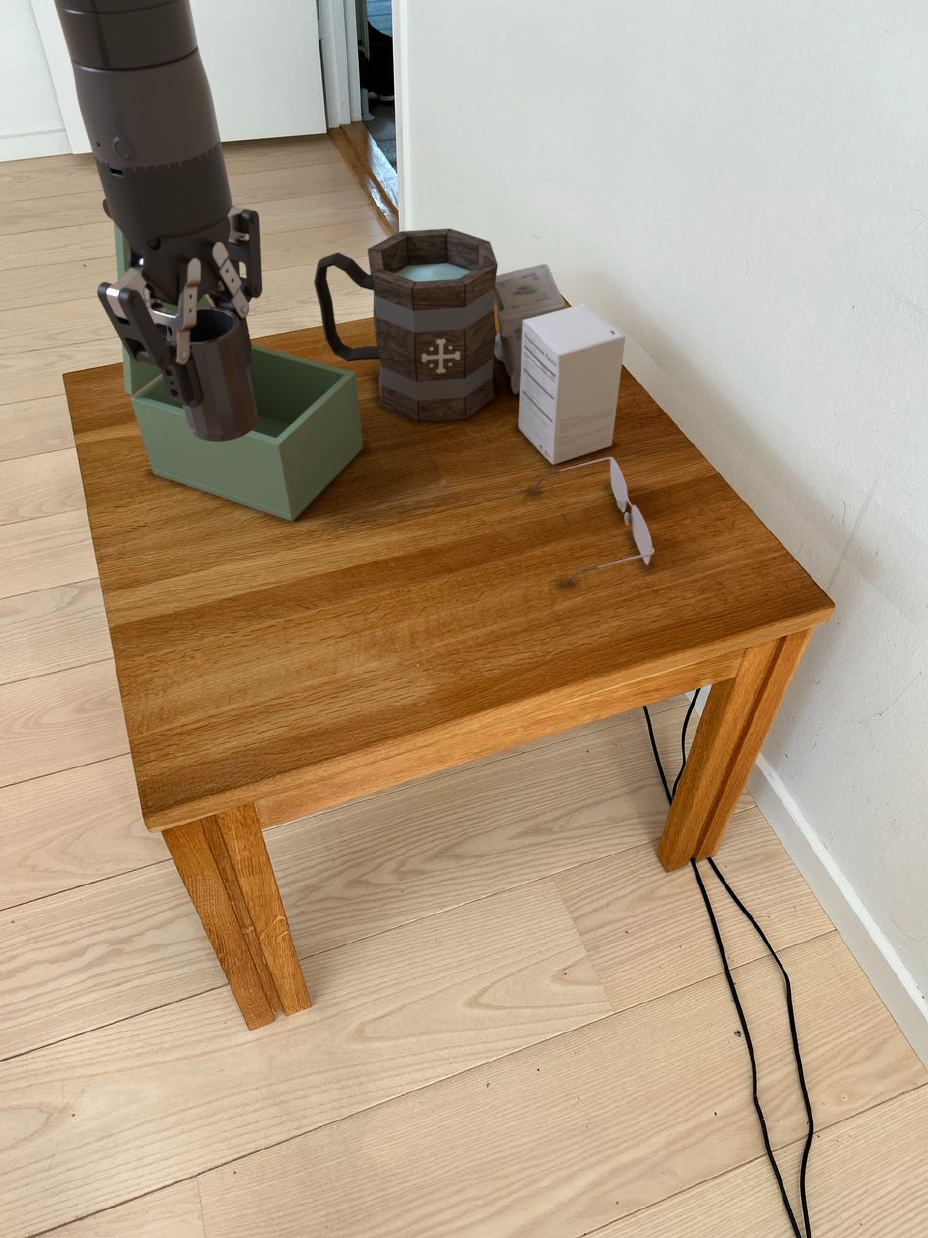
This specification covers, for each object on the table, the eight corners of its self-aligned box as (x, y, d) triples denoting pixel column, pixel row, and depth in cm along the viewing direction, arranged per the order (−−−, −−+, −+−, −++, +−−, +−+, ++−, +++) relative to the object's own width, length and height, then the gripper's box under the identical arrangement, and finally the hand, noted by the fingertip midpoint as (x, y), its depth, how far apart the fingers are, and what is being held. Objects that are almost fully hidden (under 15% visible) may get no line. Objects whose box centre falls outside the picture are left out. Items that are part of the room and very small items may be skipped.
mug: (509, 364, 106) (513, 235, 95) (479, 431, 97) (481, 297, 86) (347, 342, 110) (334, 215, 99) (305, 404, 101) (285, 272, 90)
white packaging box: (576, 410, 100) (586, 300, 91) (613, 447, 95) (628, 335, 86) (515, 428, 98) (520, 317, 88) (550, 467, 93) (559, 354, 84)
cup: (196, 449, 68) (170, 351, 62) (182, 411, 71) (156, 315, 65) (266, 432, 69) (246, 334, 63) (249, 396, 72) (229, 300, 67)
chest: (363, 447, 95) (356, 372, 89) (292, 522, 87) (278, 445, 81) (231, 407, 100) (215, 333, 94) (153, 474, 92) (129, 398, 86)
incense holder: (483, 352, 108) (483, 266, 101) (552, 346, 109) (558, 261, 101) (497, 399, 101) (499, 310, 94) (572, 392, 102) (579, 304, 95)
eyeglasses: (653, 577, 82) (656, 544, 79) (564, 593, 81) (564, 560, 78) (609, 481, 91) (610, 448, 88) (530, 495, 91) (528, 462, 88)
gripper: (181, 89, 61) (231, 325, 73) (19, 168, 52) (107, 421, 65) (276, 106, 58) (311, 347, 71) (122, 192, 50) (193, 450, 62)
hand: (213, 381), depth 68 cm, fingers closed on cup, 5 cm apart
